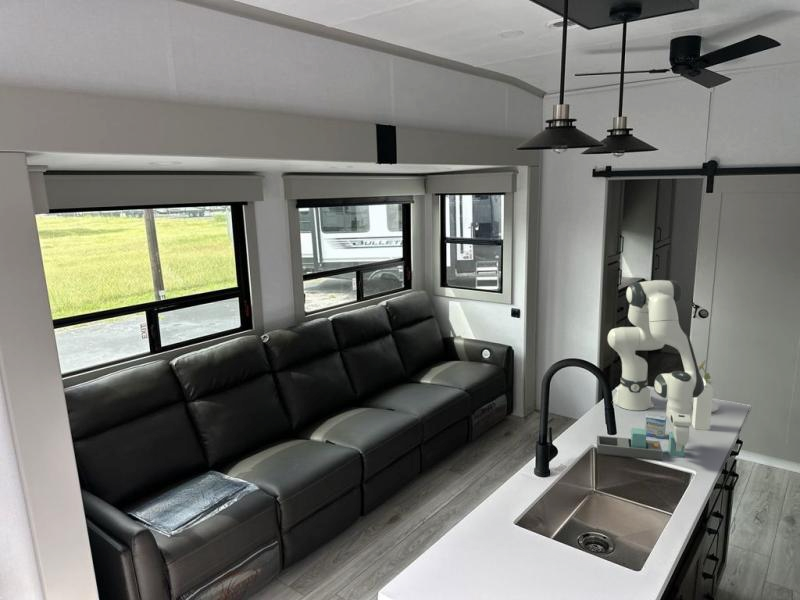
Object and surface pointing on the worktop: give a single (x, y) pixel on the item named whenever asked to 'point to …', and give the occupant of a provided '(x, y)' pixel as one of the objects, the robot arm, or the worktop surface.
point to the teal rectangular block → (674, 447)
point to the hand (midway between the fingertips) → (676, 445)
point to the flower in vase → (707, 376)
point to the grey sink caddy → (630, 446)
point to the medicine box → (655, 426)
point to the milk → (703, 408)
